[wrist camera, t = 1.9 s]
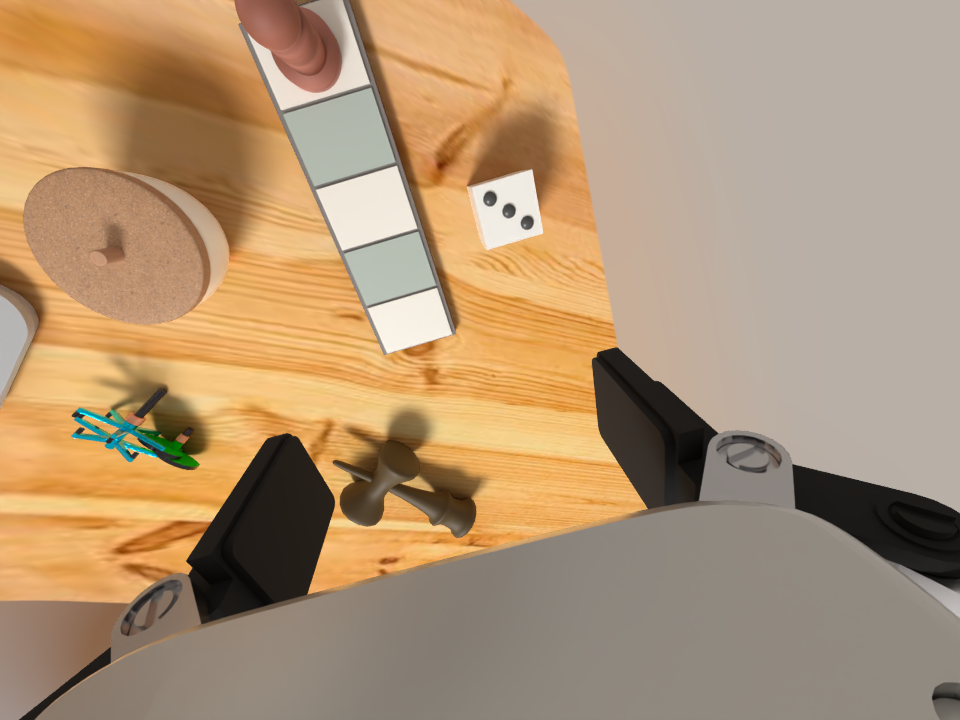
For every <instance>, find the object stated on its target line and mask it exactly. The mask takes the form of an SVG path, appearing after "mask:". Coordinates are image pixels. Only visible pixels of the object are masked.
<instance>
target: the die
mask: <svg viewBox="0 0 960 720" xmlns="http://www.w3.org/2000/svg"><path fill="white" fill-rule="evenodd" d="M467 190H468V194H469V198H470V202H471V206H472V210H473V214H474V218H475V222H476V225H477V229H478V233H479V237H480V241H481V243H482V244H483V245H484V246H485V248H486V249H487V250H489V249H492V248H495V247H499V246H502V245H506V244H509V243H512V242H516V241H519V240H522V239H526V238H529V237H533V236H536V235H539V234H543V229H542V223H541V217H540V212H539V206H538V200H537V194H536V188H535V182H534V176H533V171H532V169H531V170H522V171H517V172H514V173H510V174H507V175H504V176H500V177H497V178H494V179H490V180H487V181H484V182H480V183H477V184H474V185H470V186H467Z"/></svg>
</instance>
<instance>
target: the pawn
mask: <svg viewBox="0 0 960 720" xmlns="http://www.w3.org/2000/svg"><path fill="white" fill-rule="evenodd" d="M235 7H236V11H237V14H238V17H239V19H240V21H241V23H242V25H243V27H244V28H245V30H246V31H247V33H248V34H249V35H250V36H251V37H252V38H253V39H254V40H255V41H256V42H257V43H258V44H260V45H261V46H263V47H265V48H267V49H269V50H270V51H271V54H272V57H273V59H274V61H275V63H276V65H277V67H278V69H279V70H280V71H281V73H282V74H283V75H284V76H285V77H286V78H287V79H288V80H289V81H291V82H292V83H293V84H295V85H296V86H298V87H299V88H301V89H303V90H305V91H308V92H312V93H321V92H324V91H327V90H329V89H330V88H331V87H333V86H334V84H335V83H336V82H337V80H338V78H339V76H340V73H341V67H342V57H341V51H340V47H339V44H338V42H337V40H336V38H335V36H334V34H333V33H332V31H331V30H330V28H329V27H328V25H327V24H326V23H325V22H324V20H323V19H322V18H321V17H320V16H318V15H317V14H316V13H314V12H313V11H311V10H309V9H307V8H304V7H300V6H297V4H296V2H295V1H294V0H235Z"/></svg>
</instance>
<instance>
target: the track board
mask: <svg viewBox="0 0 960 720" xmlns="http://www.w3.org/2000/svg"><path fill="white" fill-rule="evenodd" d="M298 6H300V7H304V8H307V9H309V10H311V11H313V12H314V13H316V14H317V15H318V16H320V17H321V18H322V19H323V20H324V22H325V23H326V24H327V25H328V27H329V28H330V30H331V31H332V33H333V34H334V36H335V38H336V40H337V42H338V44H339V47H340V51H341V57H342V67H341V73H340V76H339V78H338V80H337V82H336V83H335V84H334V86H333V87H331V88H330V89H329V90H327V91H324V92H321V93H312V92H308V91H305V90H303V89H301V88H299V87H298V86H296V85H295V84H293V83H292V82H291V81H289V80H288V79H287V78H286V77H285V76H284V75H283V74H282V73H281V71H280V70H279V69H278V67H277V65H276V63H275V61H274V59H273V57H272V54H271V51H270V50H269V49H267V48H265V47H263V46H261V45H260V44H258V43H257V42H256V41H255V40H254V39H253V38H252V37H251V36H250V35H249V34H248V33H247V31H246V30H245V28H244V27H243V25H242V23H239V24H238V25H239V27H240V29H241V31H242V34H243V36H244V38H245V40H246V43H247V45H248V47H249V49H250V52H251V54H252V56H253V59H254V61H255V63H256V65H257V68H258V70H259V72H260V74H261V77H262V79H263V81H264V84H265V86H266V88H267V90H268V93H269V95H270V97H271V99H272V102H273V104H274V106H275V108H276V111H277V113H278V115H279V118H280V120H281V122H282V124H283V127H284V129H285V131H286V133H287V136H288V138H289V140H290V142H291V145H292V147H293V149H294V152H295V154H296V156H297V158H298V161H299V163H300V165H301V167H302V170H303V172H304V174H305V176H306V179H307V181H308V183H309V186H310V188H311V190H312V192H313V195H314V197H315V199H316V201H317V204H318V206H319V208H320V210H321V213H322V215H323V217H324V220H325V222H326V224H327V226H328V229H329V231H330V233H331V235H332V238H333V240H334V242H335V245H336V247H337V249H338V251H339V254H340V256H341V258H342V260H343V263H344V265H345V267H346V269H347V272H348V274H349V276H350V279H351V281H352V283H353V285H354V288H355V290H356V292H357V294H358V297H359V299H360V301H361V303H362V306H363V308H364V310H365V313H366V315H367V317H368V319H369V322H370V324H371V326H372V328H373V331H374V333H375V335H376V337H377V340H378V342H379V344H380V347H381V349H382V351H383V353H384V355H386V354H389V353H393V352H396V351H400V350H403V349H406V348H410V347H413V346H417V345H420V344H424V343H427V342H430V341H434V340H437V339H441V338H444V337H447V336H451V335H454V334H456V330H455V327H454V324H453V321H452V318H451V315H450V311H449V308H448V305H447V302H446V299H445V296H444V293H443V290H442V286H441V283H440V280H439V277H438V274H437V271H436V268H435V265H434V262H433V258H432V255H431V252H430V249H429V246H428V243H427V240H426V237H425V234H424V230H423V227H422V224H421V221H420V218H419V215H418V212H417V209H416V206H415V202H414V199H413V196H412V193H411V190H410V187H409V184H408V181H407V178H406V174H405V171H404V168H403V165H402V162H401V159H400V156H399V153H398V150H397V146H396V143H395V140H394V137H393V134H392V131H391V128H390V125H389V122H388V118H387V115H386V112H385V109H384V106H383V103H382V100H381V97H380V94H379V90H378V87H377V84H376V81H375V78H374V75H373V72H372V69H371V66H370V62H369V59H368V56H367V53H366V50H365V47H364V44H363V41H362V37H361V34H360V31H359V28H358V25H357V22H356V19H355V16H354V13H353V9H352V6H351V3H350V0H314V1H311V2H307V3H304V4H301V5H298Z"/></svg>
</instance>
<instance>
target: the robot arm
mask: <svg viewBox="0 0 960 720" xmlns="http://www.w3.org/2000/svg"><path fill="white" fill-rule="evenodd" d="M592 368H593V378H594V388H595V398H596V408H597V418H598V427H599V431H600V434H601V436H602V438H603V440H604V441H605V443H606V444H607V446H608V448H609V449H610V451H611V452H612V454H613V455H614V457H615V458H616V460H617V462H618V463H619V465H620V466H621V468H622V469H623V471H624V472H625V474H626V475H627V477H628V479H629V480H630V482H631V483H632V485H633V486H634V488H635V489H636V491H637V492H638V494H639V496H640V497H641V499H642V500H643V502H644V503H645V505H646V506H647V508H648V509H647V510H642V511H638V512H634V513H629V514H625V515H621V516H616V517H612V518H608V519H603V520H599V521H595V522H591V523H586V524H582V525H578V526H574V527H570V528H566V529H562V530H558V531H554V532H550V533H546V534H542V535H538V536H534V537H530V538H526V539H522V540H518V541H514V542H510V543H506V544H502V545H498V546H494V547H490V548H486V549H482V550H478V551H474V552H471V553H467V554H463V555H459V556H455V557H451V558H447V559H443V560H439V561H435V562H431V563H428V564H424V565H420V566H416V567H412V568H408V569H404V570H400V571H396V572H393V573H389V574H385V575H381V576H377V577H373V578H369V579H366V580H362V581H358V582H354V583H350V584H347V585H343V586H339V587H335V588H331V589H328V590H324V591H320V592H316V593H312V594H308V590H309V587H310V584H311V581H312V578H313V574H314V571H315V568H316V565H317V562H318V559H319V555H320V552H321V549H322V546H323V543H324V539H325V536H326V533H327V530H328V527H329V523H330V520H331V517H332V514H333V511H334V507H335V499H334V496H333V494H332V492H331V491H330V489H329V487H328V486H327V484H326V482H325V481H324V479H323V478H322V476H321V474H320V473H319V471H318V469H317V468H316V466H315V464H314V463H313V461H312V459H311V458H310V456H309V454H308V453H307V451H306V450H305V448H304V446H303V445H302V443H301V441H300V440H299V438H298V437H296V436H292V435H291V434H289V433H286V434H282V435H278V436H274V437H271V438H268V439H267V440H266V441H265V442H264V444H263V445H262V447H261V448H260V450H259V451H258V453H257V454H256V456H255V457H254V459H253V460H252V462H251V463H250V465H249V467H248V468H247V470H246V471H245V473H244V474H243V476H242V477H241V479H240V480H239V482H238V483H237V485H236V486H235V488H234V489H233V491H232V492H231V494H230V495H229V497H228V498H227V500H226V501H225V503H224V504H223V506H222V507H221V509H220V510H219V512H218V513H217V515H216V516H215V518H214V520H213V521H212V523H211V524H210V526H209V527H208V529H207V530H206V532H205V533H204V535H203V536H202V538H201V539H200V541H199V542H198V544H197V545H196V547H195V548H194V550H193V551H192V553H191V554H190V556H189V557H188V559H187V560H186V562H187V563H188V564H189V565H190V566H191V567H192V570H191V572H190V573H189V575H187V574H183V573H177V574H172V575H169V576H167V577H165V578H162V579H161V580H159V581H157V582H156V583H154V584H152V585H151V586H149V587H148V588H147V589H146V590H144V591H143V592H142V593H141V594H139V595H138V596H137V597H136V598H135V599H134V600H133V601H132V602H131V603H130V604H129V605H128V606H127V608H126V609H125V610H124V611H123V613H122V614H121V615H120V616H119V618H118V620H117V622H116V623H115V625H114V627H113V630H112V635H111V647H110V648H109V649H108V650H106V651H105V652H104V653H103V654H101V655H100V656H99V657H98V658H96V659H95V660H94V661H92V662H91V663H90V664H89V665H87V666H86V667H85V668H84V669H82V670H81V671H80V672H79V673H77V674H76V675H75V676H74V677H72V678H71V679H70V680H69V681H67V682H66V683H65V684H64V685H62V686H61V687H60V688H59V689H57V690H56V691H55V692H53V693H52V694H51V695H50V696H48V697H47V698H46V699H45V700H43V701H42V702H41V703H40V704H38V705H37V706H36V707H34V708H33V709H32V710H31V711H30V712H28V713H27V714H26V715H24V716H23V717H22V718H21V719H19V720H960V513H958V512H957V511H955V510H954V509H952V508H950V507H948V506H946V505H943V504H941V503H939V502H937V501H935V500H932V499H929V498H926V497H923V496H919V495H916V494H912V493H908V492H904V491H900V490H896V489H892V488H888V487H884V486H880V485H876V484H871V483H868V482H863V481H859V480H855V479H851V478H847V477H843V476H839V475H835V474H830V473H826V472H822V471H818V470H814V469H810V468H806V467H802V466H797V465H794V464H792V460H791V457H790V455H789V453H788V452H787V451H786V449H785V448H784V447H783V446H782V445H780V444H779V443H777V442H776V441H774V440H773V439H770V438H768V437H766V436H763V435H761V434H757V433H753V432H748V431H726V432H723V433H720V434H718V433H717V432H716V431H715V430H714V429H713V428H712V427H711V426H709V425H708V424H707V423H706V422H705V421H704V420H703V419H701V417H699V416H698V415H697V414H696V413H695V412H694V411H693V410H691V409H690V408H689V407H688V406H687V405H686V404H685V403H684V402H682V401H681V400H680V399H679V398H678V397H677V396H676V395H675V394H674V393H673V392H671V391H670V390H669V389H668V388H667V387H666V386H665V385H664V384H662V383H661V382H659V381H654V380H652V379H651V378H650V377H649V376H648V375H647V374H646V373H645V372H644V371H642V369H640V368H639V367H638V366H637V365H636V364H635V363H634V362H633V361H632V360H631V359H630V358H628V357H627V356H626V355H625V354H624V353H623V352H622V351H621V350H620V349H619V348H617V347H616V348H612V349H608V350H604V351H600V352H598V353H597V357H596V358H593V359H592ZM307 594H308V595H307Z"/></svg>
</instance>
